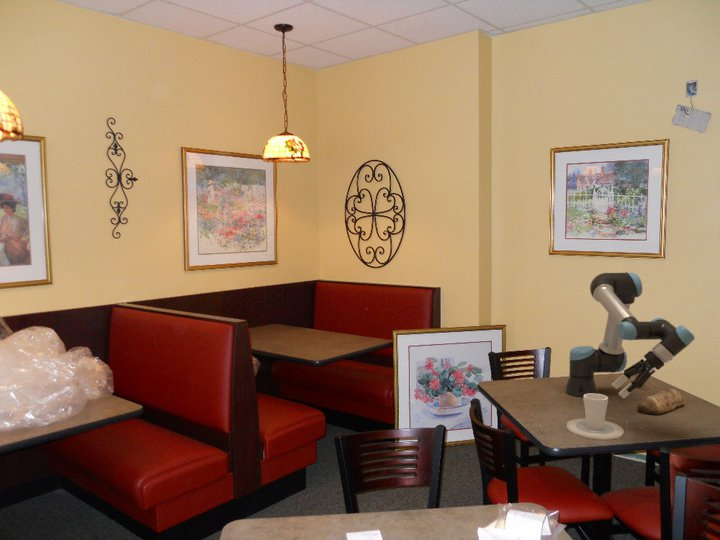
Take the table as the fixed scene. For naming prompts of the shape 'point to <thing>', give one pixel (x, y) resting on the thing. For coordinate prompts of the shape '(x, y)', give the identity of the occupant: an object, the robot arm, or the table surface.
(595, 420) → the foam cup
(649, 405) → the bread loaf
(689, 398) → the table surface
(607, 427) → the plate
